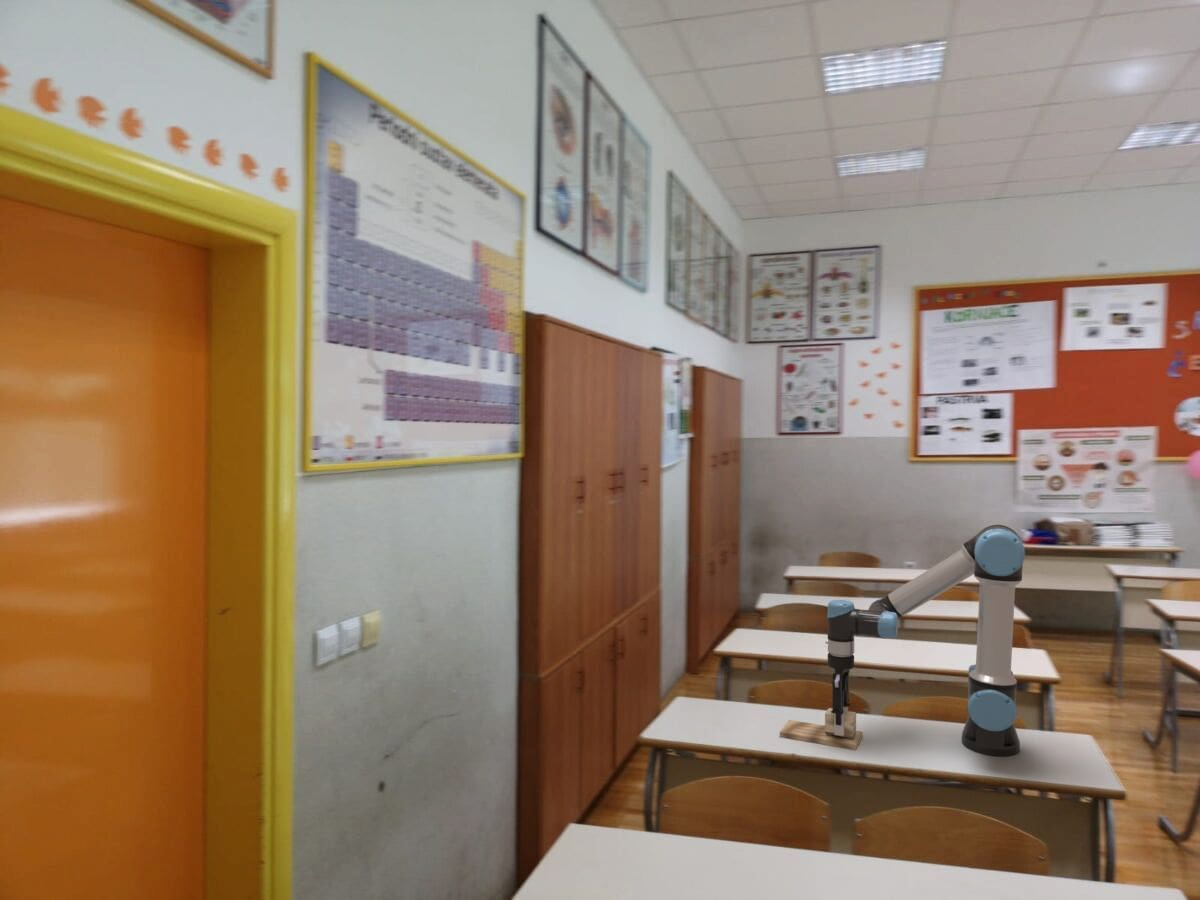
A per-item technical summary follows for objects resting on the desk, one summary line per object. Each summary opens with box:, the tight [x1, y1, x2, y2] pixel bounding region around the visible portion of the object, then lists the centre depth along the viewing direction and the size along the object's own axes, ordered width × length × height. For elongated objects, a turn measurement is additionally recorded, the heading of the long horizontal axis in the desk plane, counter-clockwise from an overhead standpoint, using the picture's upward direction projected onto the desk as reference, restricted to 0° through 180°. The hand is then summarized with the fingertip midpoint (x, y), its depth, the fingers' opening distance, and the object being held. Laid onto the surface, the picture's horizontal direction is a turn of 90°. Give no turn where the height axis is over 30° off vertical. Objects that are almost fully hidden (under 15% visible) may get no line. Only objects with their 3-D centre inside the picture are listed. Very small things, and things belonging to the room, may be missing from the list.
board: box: [779, 719, 863, 751], centre depth 237 cm, size 22×11×2 cm, turn 62°
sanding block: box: [824, 707, 857, 738], centre depth 235 cm, size 8×5×6 cm, turn 62°
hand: (841, 731), depth 235 cm, fingers closed on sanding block, 5 cm apart
